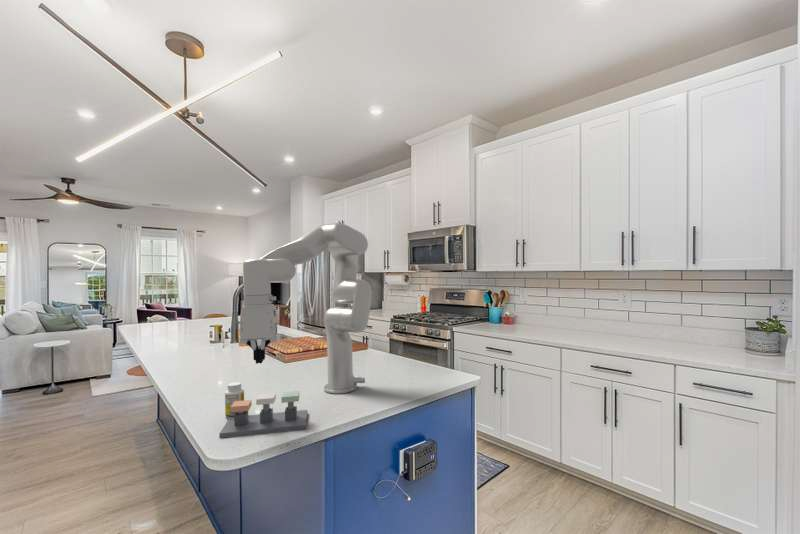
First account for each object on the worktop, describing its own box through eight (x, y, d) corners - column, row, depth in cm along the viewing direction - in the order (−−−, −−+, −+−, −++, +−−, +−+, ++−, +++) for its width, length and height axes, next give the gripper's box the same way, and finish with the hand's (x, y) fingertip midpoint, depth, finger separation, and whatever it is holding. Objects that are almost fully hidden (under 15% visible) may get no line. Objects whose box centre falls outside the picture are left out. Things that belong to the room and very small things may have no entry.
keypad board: (307, 413, 119) (307, 400, 119) (305, 428, 107) (305, 414, 107) (230, 421, 114) (230, 407, 114) (219, 437, 102) (219, 422, 102)
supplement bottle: (239, 411, 122) (238, 380, 122) (247, 415, 118) (247, 383, 118) (222, 416, 118) (221, 384, 118) (230, 421, 114) (229, 387, 114)
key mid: (275, 408, 113) (275, 392, 113) (273, 413, 109) (273, 397, 109) (259, 409, 112) (259, 394, 112) (256, 415, 108) (256, 399, 108)
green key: (299, 405, 115) (299, 390, 115) (298, 411, 110) (298, 395, 110) (283, 407, 114) (283, 392, 114) (281, 413, 109) (281, 397, 109)
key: (251, 415, 112) (251, 399, 112) (248, 421, 107) (248, 405, 107) (234, 416, 111) (234, 401, 111) (230, 423, 106) (230, 406, 106)
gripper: (285, 298, 116) (287, 357, 115) (234, 300, 113) (236, 361, 113) (282, 300, 108) (283, 363, 108) (227, 303, 106) (229, 367, 105)
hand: (259, 362), depth 110 cm, fingers closed
